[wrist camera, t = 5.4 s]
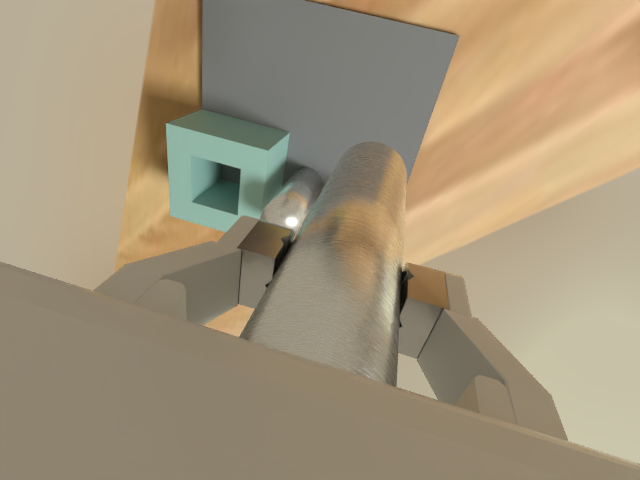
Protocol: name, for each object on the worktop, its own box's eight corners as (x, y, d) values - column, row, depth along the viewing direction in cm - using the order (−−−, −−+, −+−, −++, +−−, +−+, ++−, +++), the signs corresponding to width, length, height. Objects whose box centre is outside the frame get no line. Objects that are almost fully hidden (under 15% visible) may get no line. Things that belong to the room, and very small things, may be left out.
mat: (458, 35, 27) (459, 35, 27) (384, 245, 38) (383, 247, 38) (206, -23, 29) (202, -23, 28) (204, 193, 40) (201, 195, 39)
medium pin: (325, 171, 35) (301, 211, 27) (319, 200, 36) (294, 245, 29) (294, 163, 35) (261, 200, 27) (289, 192, 37) (258, 234, 29)
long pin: (416, 151, 15) (426, 611, 3) (394, 216, 17) (347, 667, 5) (343, 133, 15) (106, 492, 3) (329, 199, 17) (139, 584, 5)
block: (289, 132, 33) (268, 150, 28) (278, 213, 38) (257, 241, 33) (201, 109, 34) (165, 123, 29) (201, 191, 39) (170, 215, 34)
